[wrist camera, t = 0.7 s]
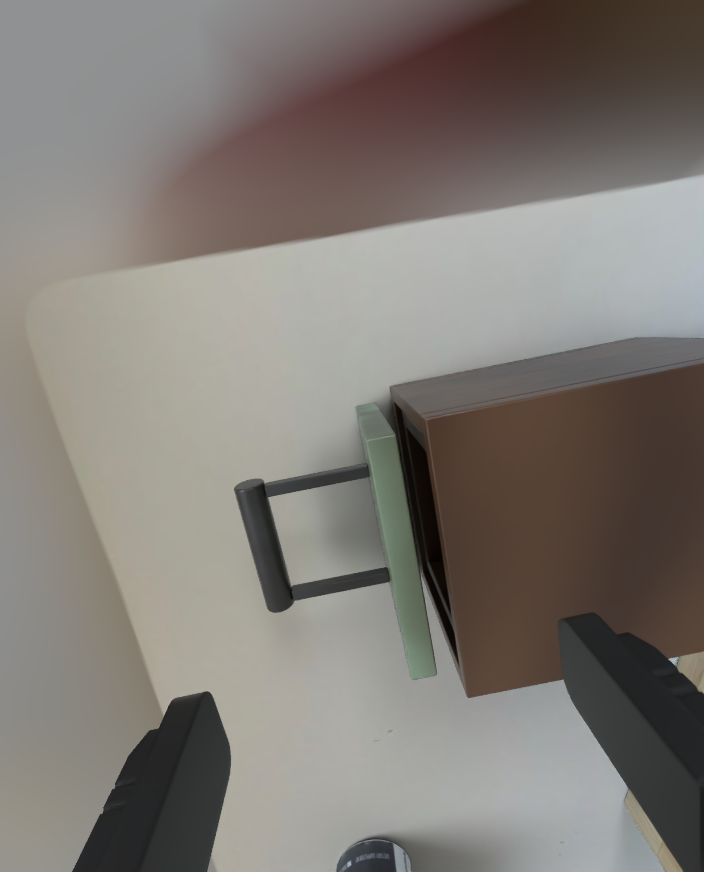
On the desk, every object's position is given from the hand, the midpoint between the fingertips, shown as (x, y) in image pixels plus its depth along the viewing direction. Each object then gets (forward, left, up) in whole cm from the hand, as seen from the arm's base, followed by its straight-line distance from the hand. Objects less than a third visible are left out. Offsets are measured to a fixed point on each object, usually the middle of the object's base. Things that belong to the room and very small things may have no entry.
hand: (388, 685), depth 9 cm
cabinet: (+2, +10, -16) cm, 19 cm away
